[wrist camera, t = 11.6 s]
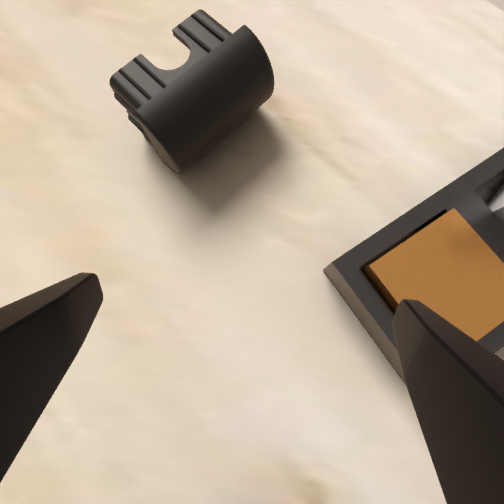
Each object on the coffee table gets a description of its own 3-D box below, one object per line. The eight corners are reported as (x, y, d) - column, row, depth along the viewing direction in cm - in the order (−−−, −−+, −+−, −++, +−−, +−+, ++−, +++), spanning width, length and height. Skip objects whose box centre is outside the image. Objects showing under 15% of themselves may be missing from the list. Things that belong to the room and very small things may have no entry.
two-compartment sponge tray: (613, 236, 22) (686, 217, 19) (408, 388, 20) (443, 403, 16) (516, 140, 25) (564, 106, 21) (322, 270, 23) (335, 258, 19)
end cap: (189, 190, 25) (163, 142, 18) (137, 138, 26) (95, 76, 19) (274, 117, 26) (278, 48, 19) (220, 71, 27) (207, -8, 21)
